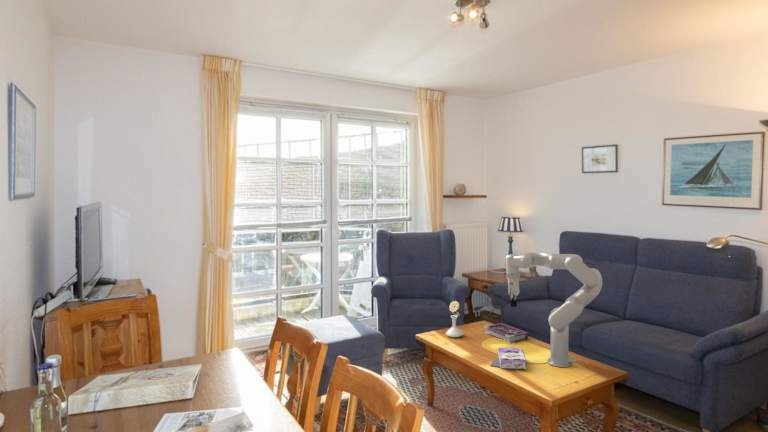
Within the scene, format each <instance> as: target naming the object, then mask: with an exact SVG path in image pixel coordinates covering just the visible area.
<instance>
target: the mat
mask: <svg viewBox="0 0 768 432" xmlns="http://www.w3.org/2000/svg"><path fill="white" fill-rule="evenodd" d="M489 366H490V367H492V368H500V369H502V368H501V367H500V361H499V357H495V358H494V359H493V361H492V362H491V363H490V365H489ZM504 369H505V370H510V371H511V370H512V371H517V369H510V368H504Z"/></svg>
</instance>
